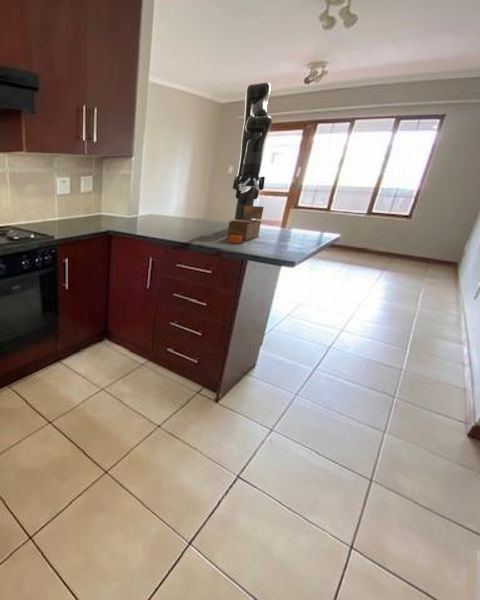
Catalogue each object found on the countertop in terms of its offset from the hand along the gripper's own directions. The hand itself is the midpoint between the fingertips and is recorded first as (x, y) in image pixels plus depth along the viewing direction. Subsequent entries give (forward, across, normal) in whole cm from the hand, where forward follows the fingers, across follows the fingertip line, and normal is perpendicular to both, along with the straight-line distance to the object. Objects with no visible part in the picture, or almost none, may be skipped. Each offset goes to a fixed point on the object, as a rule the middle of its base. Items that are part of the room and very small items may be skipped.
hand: (246, 199), depth 162 cm
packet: (+21, +3, +1) cm, 21 cm away
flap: (+6, -11, -11) cm, 17 cm away
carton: (+19, -7, -8) cm, 22 cm away
